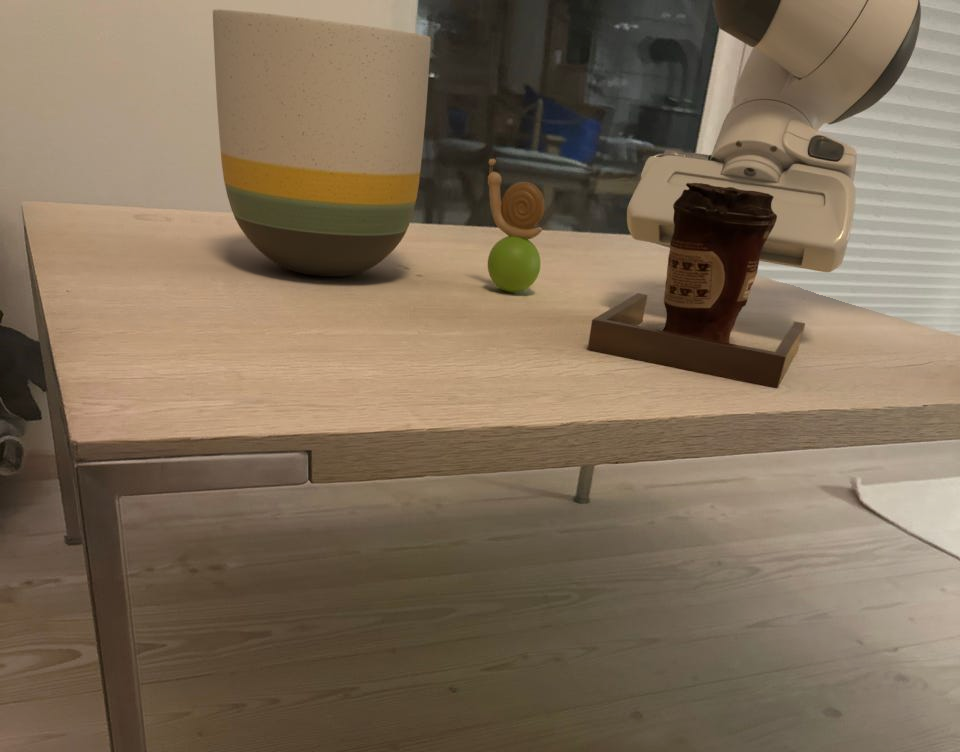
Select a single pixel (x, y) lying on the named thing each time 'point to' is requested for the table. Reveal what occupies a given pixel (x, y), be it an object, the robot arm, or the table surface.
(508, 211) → the snail figurine
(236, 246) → the table surface
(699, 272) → the coffee cup
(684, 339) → the corral
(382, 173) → the planter
